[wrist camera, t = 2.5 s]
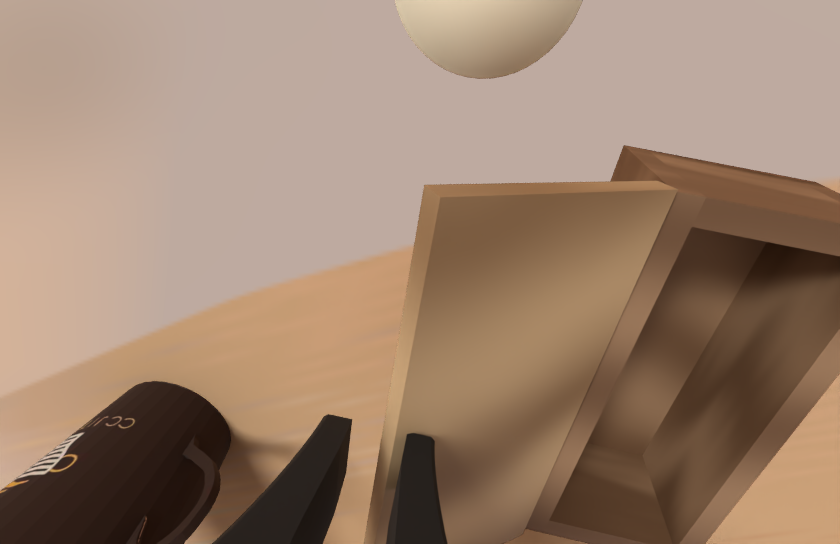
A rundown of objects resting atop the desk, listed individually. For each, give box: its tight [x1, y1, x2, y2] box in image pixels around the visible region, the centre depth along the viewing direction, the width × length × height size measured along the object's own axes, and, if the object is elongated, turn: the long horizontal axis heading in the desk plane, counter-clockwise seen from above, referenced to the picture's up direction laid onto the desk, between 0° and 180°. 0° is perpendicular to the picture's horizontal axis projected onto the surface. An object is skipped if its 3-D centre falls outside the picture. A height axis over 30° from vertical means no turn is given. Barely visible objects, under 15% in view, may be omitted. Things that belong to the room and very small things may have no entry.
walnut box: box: [525, 145, 840, 544], centre depth 17 cm, size 14×6×5 cm, turn 171°
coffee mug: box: [0, 381, 231, 544], centre depth 21 cm, size 12×9×10 cm
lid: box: [364, 181, 678, 544], centre depth 13 cm, size 14×7×1 cm
